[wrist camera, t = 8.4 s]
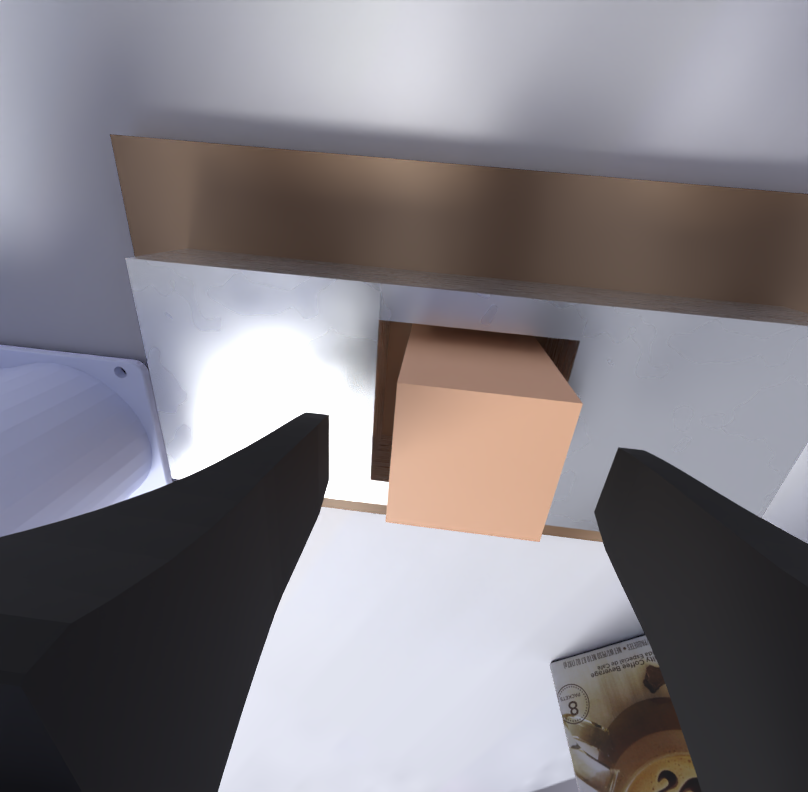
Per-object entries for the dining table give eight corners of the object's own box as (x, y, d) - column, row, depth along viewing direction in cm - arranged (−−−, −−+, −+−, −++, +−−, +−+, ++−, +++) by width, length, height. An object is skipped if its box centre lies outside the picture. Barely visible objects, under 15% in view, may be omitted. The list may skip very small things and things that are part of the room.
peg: (405, 414, 16) (385, 522, 10) (414, 315, 14) (397, 382, 9) (505, 426, 16) (539, 541, 10) (528, 327, 14) (582, 403, 8)
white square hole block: (215, 435, 17) (172, 478, 14) (187, 248, 14) (125, 257, 11) (691, 492, 16) (741, 549, 13) (784, 306, 13) (875, 332, 10)
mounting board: (194, 475, 19) (181, 489, 18) (132, 139, 13) (110, 134, 12) (695, 538, 18) (709, 555, 17) (877, 203, 12) (912, 202, 11)
